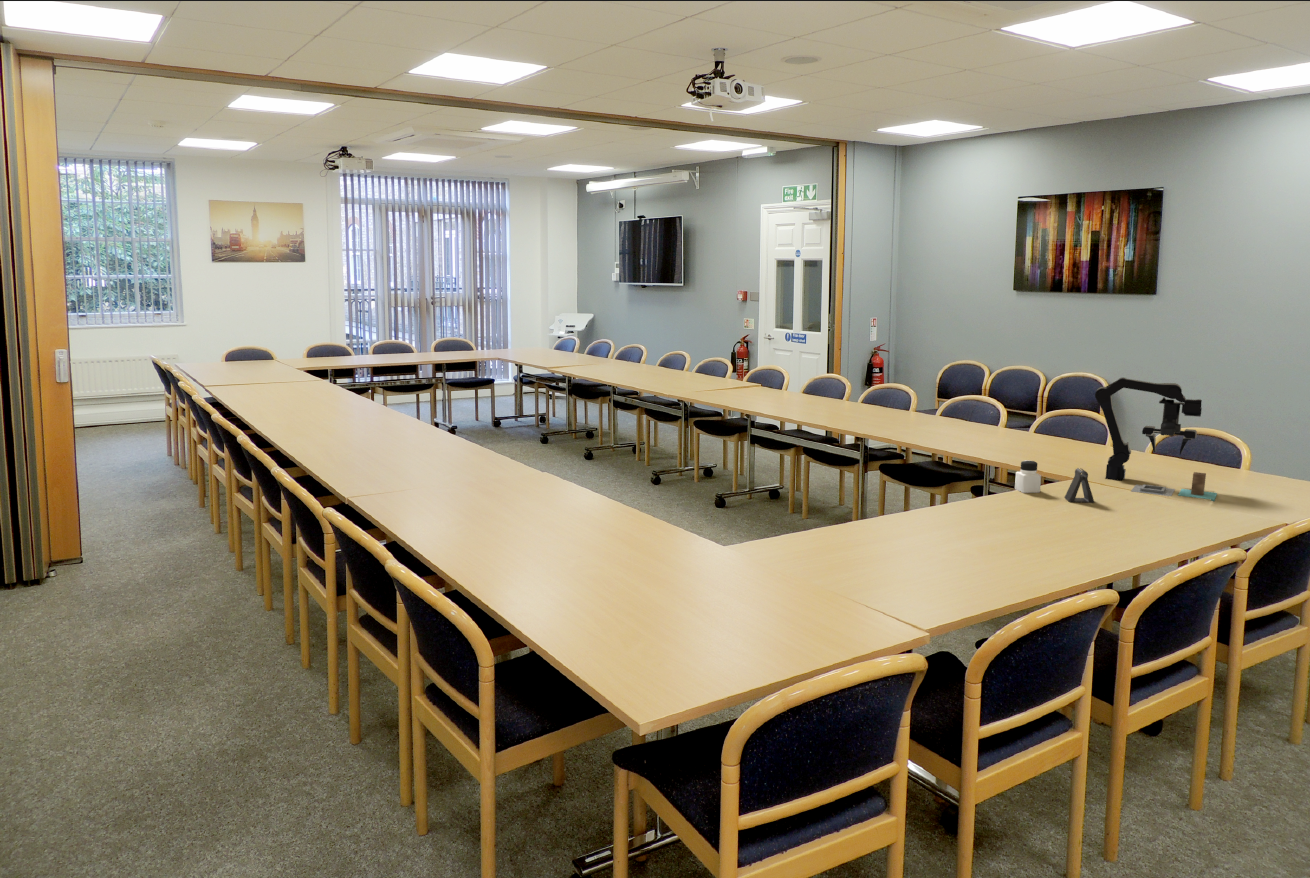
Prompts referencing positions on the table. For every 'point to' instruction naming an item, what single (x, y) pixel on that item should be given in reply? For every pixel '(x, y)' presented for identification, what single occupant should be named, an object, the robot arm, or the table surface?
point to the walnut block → (1198, 483)
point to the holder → (1153, 490)
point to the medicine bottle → (1028, 478)
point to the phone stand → (1075, 486)
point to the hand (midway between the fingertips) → (1167, 453)
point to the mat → (1205, 496)
